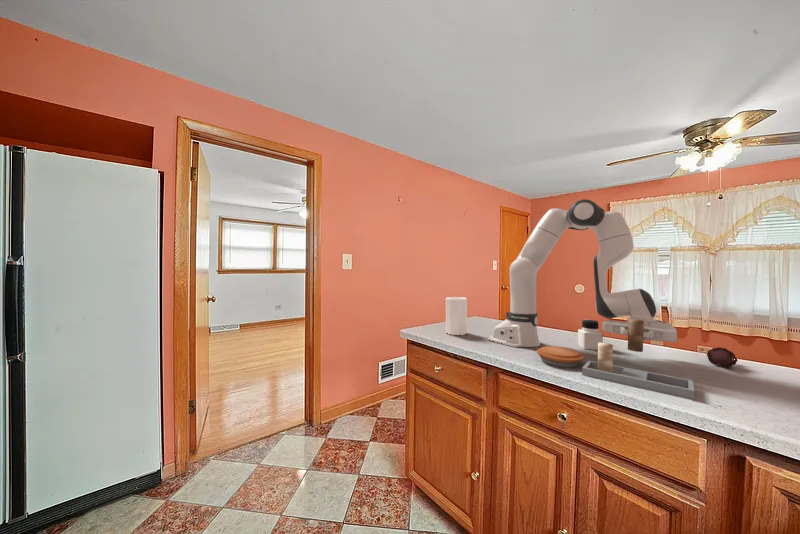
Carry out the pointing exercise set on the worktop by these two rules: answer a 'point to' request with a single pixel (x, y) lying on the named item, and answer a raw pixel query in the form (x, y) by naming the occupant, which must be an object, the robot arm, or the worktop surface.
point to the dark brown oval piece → (721, 357)
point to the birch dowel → (605, 357)
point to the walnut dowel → (635, 335)
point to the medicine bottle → (589, 335)
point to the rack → (642, 379)
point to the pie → (560, 356)
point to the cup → (456, 315)
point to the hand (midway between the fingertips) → (635, 333)
